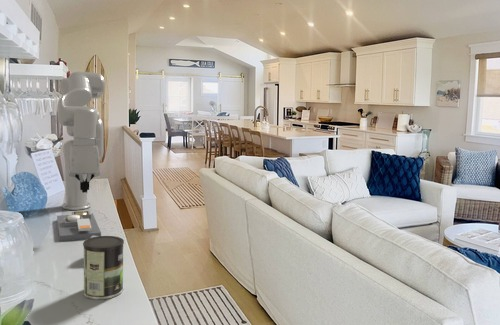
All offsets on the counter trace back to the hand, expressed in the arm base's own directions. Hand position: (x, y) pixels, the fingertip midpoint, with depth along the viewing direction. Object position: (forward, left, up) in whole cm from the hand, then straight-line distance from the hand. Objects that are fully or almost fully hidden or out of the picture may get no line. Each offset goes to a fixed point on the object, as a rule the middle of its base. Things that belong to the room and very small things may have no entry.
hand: (84, 191), depth 155 cm
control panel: (-11, -2, -17) cm, 21 cm away
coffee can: (+49, 0, -17) cm, 52 cm away
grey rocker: (-2, 0, -14) cm, 14 cm away
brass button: (-20, +1, -15) cm, 25 cm away
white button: (-11, -3, -14) cm, 18 cm away
